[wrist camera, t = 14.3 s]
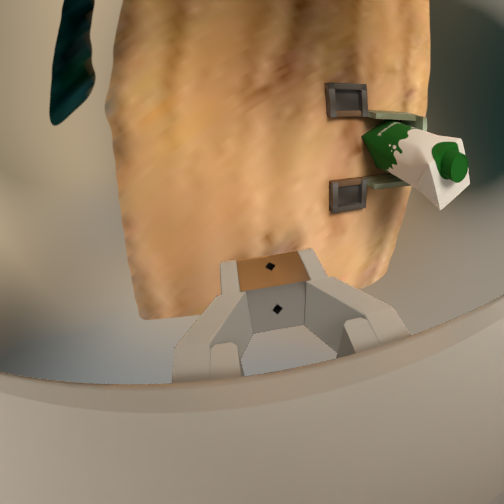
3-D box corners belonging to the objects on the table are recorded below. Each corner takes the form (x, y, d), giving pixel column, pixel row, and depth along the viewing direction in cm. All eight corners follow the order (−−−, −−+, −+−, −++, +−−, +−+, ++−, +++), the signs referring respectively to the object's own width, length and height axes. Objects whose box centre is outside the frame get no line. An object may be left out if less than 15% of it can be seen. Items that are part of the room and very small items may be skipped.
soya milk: (389, 111, 39) (474, 137, 23) (406, 151, 44) (482, 191, 28) (355, 134, 41) (435, 170, 25) (374, 174, 46) (447, 224, 30)
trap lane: (324, 82, 36) (341, 82, 31) (405, 88, 37) (426, 91, 32) (329, 209, 49) (343, 224, 44) (400, 199, 50) (418, 211, 45)
